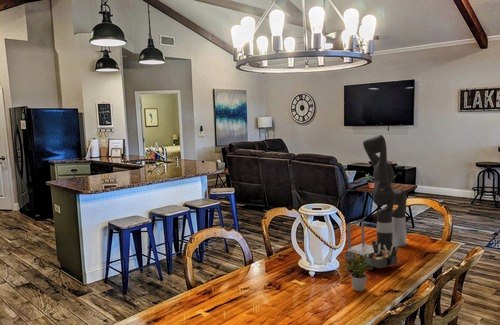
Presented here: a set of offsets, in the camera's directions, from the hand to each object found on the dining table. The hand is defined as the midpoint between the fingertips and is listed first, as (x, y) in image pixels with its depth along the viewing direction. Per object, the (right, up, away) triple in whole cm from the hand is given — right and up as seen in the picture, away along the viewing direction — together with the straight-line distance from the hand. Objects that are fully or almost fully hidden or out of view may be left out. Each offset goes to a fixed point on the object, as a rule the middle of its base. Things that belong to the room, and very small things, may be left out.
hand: (384, 263), depth 193 cm
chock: (0, -1, 0) cm, 1 cm away
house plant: (-18, -6, -18) cm, 27 cm away
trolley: (-7, -3, +10) cm, 12 cm away
